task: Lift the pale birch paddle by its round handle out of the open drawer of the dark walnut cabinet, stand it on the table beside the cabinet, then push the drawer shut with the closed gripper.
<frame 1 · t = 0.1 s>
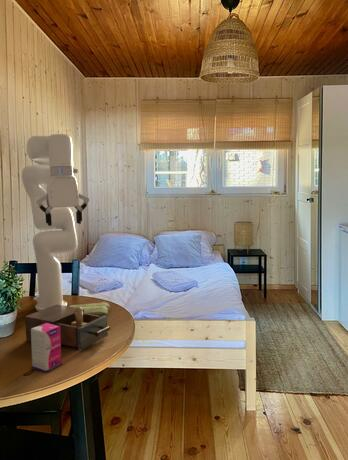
hand: (64, 224, 140), 37 cm above the table, tool pointing down, fingers open, 9 cm apart
drawer: (85, 330, 134), point 4 cm above the table, slide at 9.0 cm, touching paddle
supplement box: (47, 367, 118), on the table
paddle: (80, 336, 135), point 2 cm above the table, touching drawer
cabinet: (56, 336, 140), on the table
washcloth: (85, 315, 162), on the table
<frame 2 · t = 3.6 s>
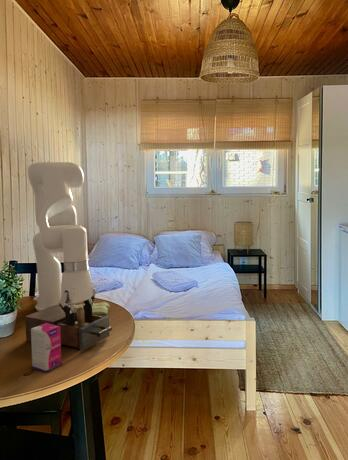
hand: (79, 320, 133), 7 cm above the table, tool pointing down, fingers open, 7 cm apart
drawer: (87, 330, 133), point 4 cm above the table, slide at 9.7 cm, touching gripper, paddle
everything else where it was.
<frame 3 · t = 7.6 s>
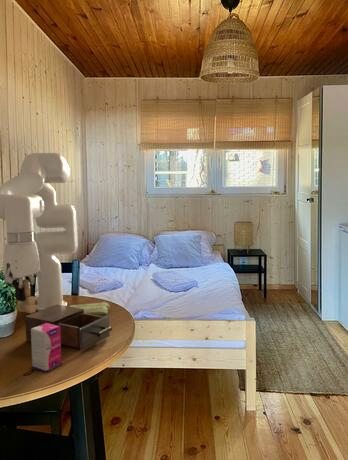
hand: (24, 298, 125), 17 cm above the table, tool pointing down, fingers closed on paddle, 2 cm apart
drawer: (87, 330, 133), point 4 cm above the table, slide at 9.8 cm
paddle: (27, 311, 125), point 13 cm above the table, touching gripper
everything else where it was.
when the fingers open (4 cm above the table, at t = 10.8 s): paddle stays where it is, on the table.
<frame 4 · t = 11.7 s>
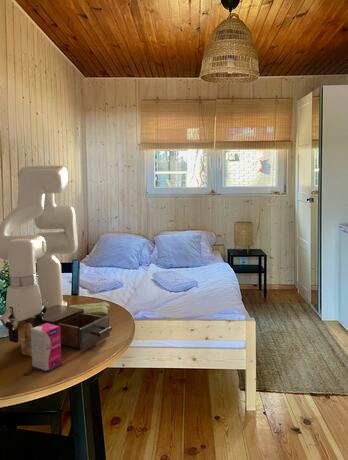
hand: (27, 336, 126), 5 cm above the table, tool pointing down, fingers open, 9 cm apart
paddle: (29, 354, 126), on the table
everything else where it was.
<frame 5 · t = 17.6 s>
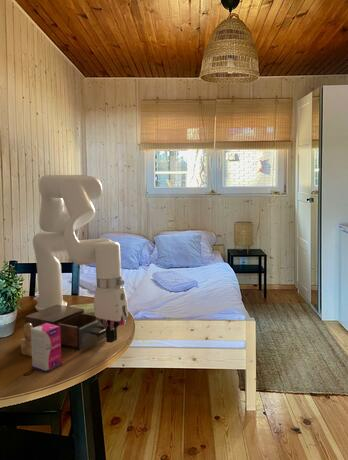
hand: (111, 340, 129), 3 cm above the table, tool pointing down, fingers closed
drawer: (86, 330, 133), point 4 cm above the table, slide at 9.6 cm, touching gripper
everything else where it was.
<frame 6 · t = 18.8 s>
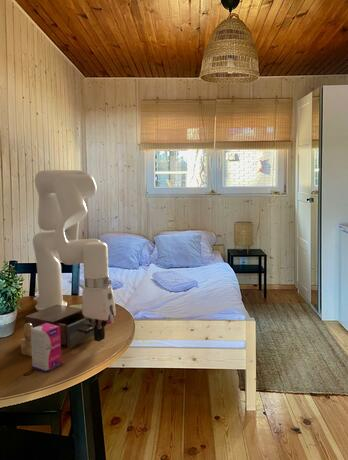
hand: (99, 339, 131), 2 cm above the table, tool pointing down, fingers closed
drawer: (75, 328, 136), point 4 cm above the table, slide at 4.7 cm, touching gripper
everything else where it was.
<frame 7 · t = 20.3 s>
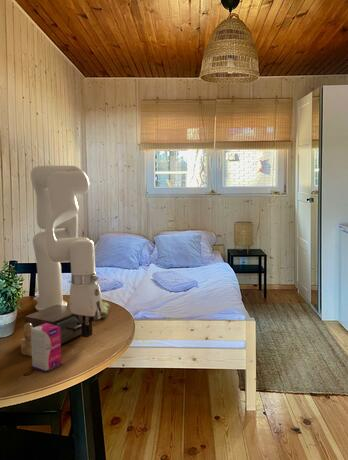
hand: (87, 335, 133), 3 cm above the table, tool pointing down, fingers closed
drawer: (64, 326, 138), point 4 cm above the table, slide at 0.0 cm, touching cabinet, gripper
everything else where it was.
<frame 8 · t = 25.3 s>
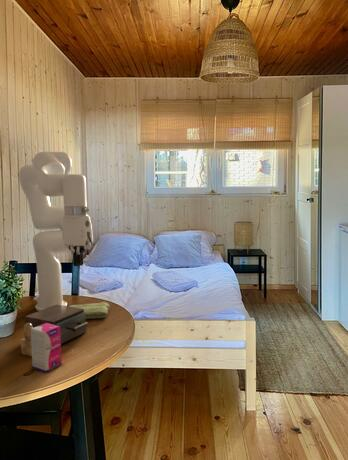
hand: (78, 265, 142), 23 cm above the table, tool pointing down, fingers closed
drawer: (64, 326, 138), point 4 cm above the table, slide at 0.0 cm, touching cabinet
everything else where it was.
at the end: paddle inside the target area (0.9 cm from its centre), on the table; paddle touching table; drawer slide at 0.0 cm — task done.
